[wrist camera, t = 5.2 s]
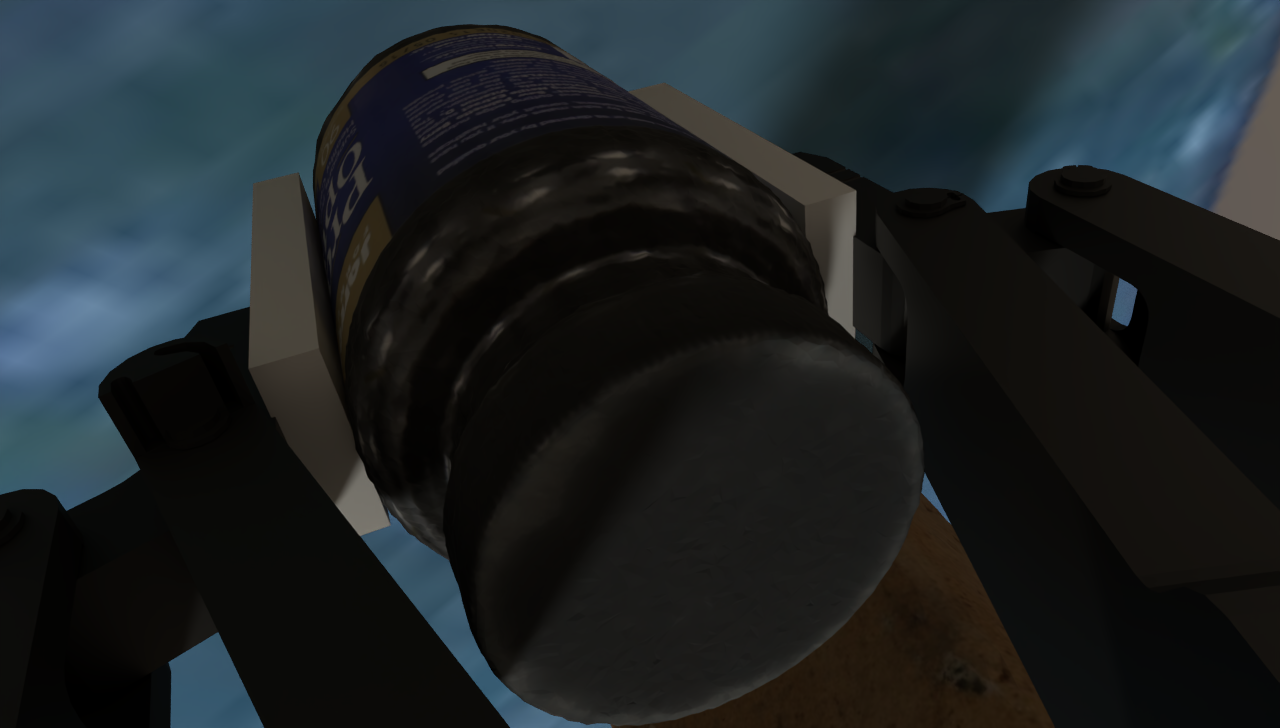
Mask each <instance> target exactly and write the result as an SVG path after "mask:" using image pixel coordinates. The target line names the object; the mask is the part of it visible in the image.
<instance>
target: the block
mask: <svg viewBox="0 0 1280 728" xmlns="http://www.w3.org/2000/svg"><path fill="white" fill-rule="evenodd" d="M611 726H612V728H1055V726H1054V724H1053V722H1052V721H1051V719H1050V717H1049V715H1048V713H1047V711H1046V709H1045V707H1044V705H1043V703H1042V701H1041V699H1040V697H1039V695H1038V693H1037V691H1036V689H1035V687H1034V685H1033V683H1032V681H1031V679H1030V677H1029V675H1028V674H1027V672H1026V670H1025V668H1024V666H1023V664H1022V662H1021V660H1020V658H1019V656H1018V654H1017V652H1016V650H1015V648H1014V646H1013V644H1012V642H1011V640H1010V638H1009V636H1008V634H1007V632H1006V630H1005V628H1004V626H1003V625H1002V623H1001V621H1000V619H999V617H998V615H997V613H996V611H995V609H994V607H993V605H992V603H991V601H990V599H989V597H988V595H987V593H986V591H985V589H984V587H983V585H982V583H981V581H980V579H979V577H978V576H977V574H976V572H975V570H974V568H973V566H972V564H971V562H970V560H969V558H968V556H967V554H966V552H965V550H964V548H963V546H962V544H961V542H960V540H959V538H958V536H957V534H956V532H955V530H954V529H953V527H952V525H951V524H950V523H949V522H948V521H947V520H946V519H945V518H944V517H943V516H942V515H941V513H940V512H939V511H938V510H937V509H936V508H935V507H934V506H933V505H932V504H931V502H930V501H929V500H928V499H927V498H926V497H925V496H924V495H923V494H922V493H921V495H920V504H919V506H918V508H917V510H916V512H915V514H914V516H913V519H912V522H911V525H910V528H909V531H908V534H907V537H906V539H905V541H904V543H903V545H902V547H901V549H900V551H899V553H898V555H897V557H896V558H895V560H894V561H893V563H892V566H891V567H890V569H889V570H888V571H887V573H886V574H885V575H884V577H883V578H882V580H881V581H880V582H879V584H878V585H877V587H876V589H875V590H874V592H873V593H872V594H871V595H870V596H869V597H868V599H867V600H866V601H865V602H864V603H863V604H862V605H861V607H860V608H859V609H858V610H857V611H856V612H855V613H854V614H853V616H852V617H851V618H850V619H849V621H848V622H847V623H845V624H844V625H843V626H842V627H841V628H840V629H839V630H838V631H837V632H836V633H835V634H834V635H833V636H832V637H830V638H829V639H828V640H827V641H826V642H824V643H823V644H822V645H821V646H820V647H818V648H817V649H816V650H814V651H813V652H812V653H811V654H809V655H808V656H807V657H805V658H804V659H803V660H802V661H800V662H799V663H798V664H796V665H795V666H793V667H792V668H790V669H788V670H787V671H785V672H784V673H783V674H781V675H780V676H778V677H777V678H775V679H773V680H771V681H769V682H767V683H765V684H764V685H762V686H760V687H758V688H757V689H755V690H753V691H751V692H748V693H746V694H744V695H743V696H741V697H740V698H737V699H734V700H731V701H729V702H727V703H725V704H723V705H721V706H718V707H716V708H714V709H707V710H705V711H702V712H700V713H696V714H691V715H688V716H685V717H682V718H679V719H676V720H668V721H664V722H660V723H651V724H644V725H639V726H636V725H622V726H615V725H612V724H611Z"/></svg>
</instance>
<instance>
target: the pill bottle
mask: <svg viewBox="0 0 1280 728" xmlns="http://www.w3.org/2000/svg"><path fill="white" fill-rule="evenodd" d="M313 192H314V201H315V211H316V221H317V226H318V230H319V236H320V242H321V247H322V254H323V261H324V268H325V274H326V278H327V285H328V290H329V296H330V302H331V309H332V316H333V322H334V327H335V333H336V339H337V345H338V351H339V356H340V363H341V370H342V374H343V379H344V386H345V391H346V404H347V407H348V414H349V420H350V423H351V426H352V431H353V436H354V441H355V448H356V451H357V453H358V455H359V457H360V458H361V460H362V462H363V464H364V467H365V471H366V475H367V477H368V479H369V480H370V481H371V482H372V483H373V484H374V487H375V489H376V491H377V493H378V495H379V497H380V499H381V502H382V504H383V505H385V506H386V507H387V508H388V510H389V512H390V513H391V515H392V516H394V517H395V518H397V520H398V521H399V522H400V523H401V524H402V526H403V527H404V528H405V529H406V531H407V532H408V533H409V534H411V535H413V536H415V537H416V538H417V539H418V540H419V541H420V542H421V543H423V544H425V545H426V546H428V547H429V548H431V549H432V550H434V551H435V552H436V553H438V554H440V555H441V556H443V557H444V558H446V559H448V560H449V561H450V564H451V567H452V570H453V573H454V576H455V578H456V581H457V583H458V586H459V589H460V593H461V597H462V602H463V605H464V609H465V612H466V616H467V619H468V623H469V626H470V629H471V632H472V634H473V636H474V639H475V641H476V643H477V645H478V648H479V649H480V651H481V653H482V655H483V656H484V657H485V659H486V661H487V663H488V665H489V667H490V668H491V670H492V672H493V673H494V675H495V676H496V677H497V678H498V679H499V680H500V681H501V682H502V683H503V684H504V685H505V686H506V687H507V688H509V689H510V690H511V691H512V692H513V693H515V694H516V695H517V696H519V697H520V698H521V699H522V700H523V701H524V702H526V703H528V704H530V705H532V706H534V707H536V708H538V709H540V710H542V711H545V712H547V713H549V714H551V715H554V716H559V717H563V718H565V719H566V720H568V721H573V722H580V723H583V724H586V725H589V724H595V723H608V724H612V725H615V726H622V725H636V726H639V725H644V724H651V723H660V722H664V721H668V720H676V719H679V718H682V717H685V716H688V715H691V714H696V713H700V712H702V711H705V710H707V709H714V708H716V707H718V706H721V705H723V704H725V703H727V702H729V701H731V700H734V699H737V698H740V697H741V696H743V695H744V694H746V693H748V692H751V691H753V690H755V689H757V688H758V687H760V686H762V685H764V684H765V683H767V682H769V681H771V680H773V679H775V678H777V677H778V676H780V675H781V674H783V673H784V672H785V671H787V670H788V669H790V668H792V667H793V666H795V665H796V664H798V663H799V662H800V661H802V660H803V659H804V658H805V657H807V656H808V655H809V654H811V653H812V652H813V651H814V650H816V649H817V648H818V647H820V646H821V645H822V644H823V643H824V642H826V641H827V640H828V639H829V638H830V637H832V636H833V635H834V634H835V633H836V632H837V631H838V630H839V629H840V628H841V627H842V626H843V625H844V624H845V623H847V622H848V621H849V619H850V618H851V617H852V616H853V614H854V613H855V612H856V611H857V610H858V609H859V608H860V607H861V605H862V604H863V603H864V602H865V601H866V600H867V599H868V597H869V596H870V595H871V594H872V593H873V592H874V590H875V589H876V587H877V585H878V584H879V582H880V581H881V580H882V578H883V577H884V575H885V574H886V573H887V571H888V570H889V569H890V567H891V566H892V563H893V561H894V560H895V558H896V557H897V555H898V553H899V551H900V549H901V547H902V545H903V543H904V541H905V539H906V537H907V534H908V531H909V528H910V525H911V522H912V519H913V516H914V514H915V512H916V510H917V508H918V506H919V504H920V495H921V491H922V483H923V478H924V474H925V473H924V468H925V463H924V448H923V442H924V441H923V437H922V433H921V429H920V424H919V420H918V417H917V414H916V412H915V409H914V406H913V404H912V402H911V400H910V398H909V395H908V394H907V392H906V391H905V390H904V388H903V386H902V385H901V383H900V381H899V380H898V379H897V378H896V377H895V376H894V375H893V374H892V372H891V371H890V370H889V369H888V368H887V367H886V366H885V365H884V364H883V363H882V362H881V361H880V360H879V359H878V358H877V357H875V356H874V355H873V354H872V353H871V352H870V351H869V350H868V349H867V348H866V347H865V346H864V345H862V344H861V343H859V342H858V341H857V340H856V339H855V338H854V337H853V336H852V335H851V334H850V333H849V332H848V331H847V330H846V329H845V328H844V327H843V326H842V325H841V324H839V323H838V322H837V321H835V320H834V319H833V318H831V317H830V316H829V314H828V305H827V300H826V297H825V290H824V286H825V284H824V281H823V279H822V276H821V274H820V269H819V264H818V262H817V260H816V259H815V257H814V255H813V251H812V248H811V244H810V242H809V241H808V240H807V238H806V236H805V234H804V233H803V231H802V230H801V228H800V227H799V226H798V224H797V223H796V221H795V220H794V218H793V216H792V214H791V213H790V211H789V210H788V209H787V208H786V207H785V205H784V204H783V203H782V201H781V200H780V198H778V197H777V196H776V195H775V194H774V193H773V192H772V190H771V189H770V188H769V187H767V186H765V185H764V184H763V183H761V182H760V181H759V180H758V179H757V178H756V177H755V176H754V175H753V174H752V172H751V171H750V170H748V169H747V168H745V167H744V166H742V165H740V164H739V163H737V162H736V161H734V160H732V159H730V158H728V157H726V156H724V155H723V154H721V153H720V152H718V151H716V150H715V149H713V148H712V147H710V146H709V145H708V144H706V143H705V142H703V141H701V140H700V139H698V138H697V137H695V136H694V135H692V134H691V133H689V132H688V131H687V130H685V129H683V128H682V127H680V126H679V125H677V124H676V123H674V122H673V121H671V120H670V119H668V118H667V117H665V116H664V115H662V114H660V113H659V112H657V111H656V110H655V109H653V108H652V107H650V106H649V105H648V104H646V103H644V102H643V101H641V100H640V99H638V98H637V97H635V96H634V95H632V94H630V93H629V92H628V91H626V90H625V89H623V88H621V87H620V86H618V85H617V84H616V83H614V82H613V81H612V80H610V79H608V78H607V77H605V76H603V75H602V74H600V73H599V72H597V71H595V70H594V69H592V68H591V67H589V66H588V65H586V64H585V63H583V62H582V61H580V60H578V59H577V58H575V57H574V56H572V55H571V54H569V53H567V52H566V51H564V50H563V49H561V48H559V47H558V46H556V45H555V44H553V43H552V42H550V41H549V40H547V39H545V38H543V37H541V36H538V35H534V34H531V33H528V32H525V31H522V30H519V29H516V28H512V27H508V26H500V25H473V24H467V25H455V26H445V27H439V28H435V29H431V30H428V31H425V32H423V33H420V34H417V35H414V36H411V37H409V38H406V39H404V40H402V41H400V42H398V43H396V44H395V45H393V46H391V47H390V48H388V49H386V50H385V51H383V52H381V53H379V54H377V55H376V56H375V57H374V58H373V59H372V60H371V61H370V62H369V63H368V64H367V65H366V66H365V67H364V68H363V69H362V70H361V72H360V73H359V74H358V75H357V76H356V78H355V79H354V80H353V81H352V82H351V83H350V85H349V86H348V88H347V89H346V91H345V92H344V94H343V95H342V97H341V98H340V100H339V101H338V103H337V104H336V105H335V107H334V108H333V110H332V111H331V112H330V114H329V115H328V117H327V118H326V120H325V122H324V124H323V126H322V129H321V131H320V134H319V136H318V139H317V144H316V155H315V164H314V169H313Z"/></svg>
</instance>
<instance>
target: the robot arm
mask: <svg viewBox="0 0 1280 728" xmlns="http://www.w3.org/2000/svg"><path fill="white" fill-rule="evenodd" d="M629 93H630V94H632V95H634V96H635V97H637V98H638V99H640V100H641V101H643V102H644V103H646V104H648V105H649V106H650V107H652V108H653V109H655V110H656V111H657V112H659V113H660V114H662V115H664V116H665V117H667V118H668V119H670V120H671V121H673V122H674V123H676V124H677V125H679V126H680V127H682V128H683V129H685V130H687V131H688V132H689V133H691V134H692V135H694V136H695V137H697V138H698V139H700V140H701V141H703V142H705V143H706V144H708V145H709V146H710V147H712V148H713V149H715V150H716V151H718V152H720V153H721V154H723V155H724V156H726V157H728V158H730V159H732V160H734V161H736V162H737V163H739V164H740V165H742V166H744V167H745V168H747V169H748V170H750V171H751V172H752V174H753V175H754V176H755V177H756V178H757V179H758V180H759V181H760V182H761V183H763V184H764V185H765V186H767V187H769V188H770V189H771V190H772V192H773V193H774V194H775V195H776V196H777V197H778V198H780V200H781V201H782V203H783V204H784V205H785V207H786V208H787V209H788V210H789V211H790V213H791V214H792V216H793V218H794V220H795V221H796V223H797V224H798V226H799V227H800V228H801V230H802V231H803V233H804V234H805V236H806V238H807V240H808V241H809V242H810V244H811V248H812V251H813V255H814V257H815V259H816V260H817V262H818V264H819V269H820V274H821V276H822V279H823V281H824V284H825V286H824V290H825V297H826V300H827V305H828V314H829V316H830V317H831V318H833V319H834V320H835V321H837V322H838V323H839V324H841V325H842V326H843V327H844V328H845V329H846V330H847V331H848V332H849V333H850V334H851V335H852V336H853V337H854V338H855V328H856V329H857V330H858V331H860V332H861V333H862V334H863V335H865V336H866V337H867V338H868V339H870V340H871V341H872V342H873V353H872V354H873V355H874V356H875V357H877V358H878V359H879V360H880V361H881V362H882V363H883V364H884V365H885V366H886V367H887V368H888V369H889V370H890V371H891V372H892V374H893V375H894V376H895V377H896V378H897V379H898V380H899V381H900V383H901V385H902V386H903V388H904V390H905V391H906V392H907V394H908V395H909V398H910V400H911V402H912V404H913V406H914V409H915V412H916V414H917V417H918V420H919V424H920V429H921V433H922V437H923V441H924V442H923V448H924V463H925V468H924V472H925V474H926V476H927V478H928V480H929V481H930V483H931V485H932V487H933V489H934V491H935V493H936V495H937V497H938V499H939V501H940V503H941V505H942V507H943V509H944V511H945V513H946V515H947V517H948V519H949V521H950V523H951V525H952V527H953V529H954V530H955V532H956V534H957V536H958V538H959V540H960V542H961V544H962V546H963V548H964V550H965V552H966V554H967V556H968V558H969V560H970V562H971V564H972V566H973V568H974V570H975V572H976V574H977V576H978V577H979V579H980V581H981V583H982V585H983V587H984V589H985V591H986V593H987V595H988V597H989V599H990V601H991V603H992V605H993V607H994V609H995V611H996V613H997V615H998V617H999V619H1000V621H1001V623H1002V625H1003V626H1004V628H1005V630H1006V632H1007V634H1008V636H1009V638H1010V640H1011V642H1012V644H1013V646H1014V648H1015V650H1016V652H1017V654H1018V656H1019V658H1020V660H1021V662H1022V664H1023V666H1024V668H1025V670H1026V672H1027V674H1028V675H1029V677H1030V679H1031V681H1032V683H1033V685H1034V687H1035V689H1036V691H1037V693H1038V695H1039V697H1040V699H1041V701H1042V703H1043V705H1044V707H1045V709H1046V711H1047V713H1048V715H1049V717H1050V719H1051V721H1052V722H1053V724H1054V726H1055V728H1280V240H1277V239H1275V238H1272V237H1270V236H1268V235H1265V234H1263V233H1260V232H1258V231H1255V230H1253V229H1251V228H1248V227H1246V226H1244V225H1242V224H1239V223H1237V222H1234V221H1232V220H1229V219H1227V218H1225V217H1223V216H1220V215H1218V214H1215V213H1213V212H1211V211H1208V210H1206V209H1204V208H1201V207H1199V206H1197V205H1194V204H1192V203H1189V202H1187V201H1185V200H1182V199H1180V198H1178V197H1175V196H1173V195H1170V194H1168V193H1166V192H1163V191H1161V190H1159V189H1156V188H1154V187H1151V186H1149V185H1147V184H1144V183H1142V182H1140V181H1137V180H1135V179H1132V178H1130V177H1128V176H1125V175H1123V174H1119V173H1116V172H1113V171H1109V170H1104V169H1097V168H1093V167H1092V166H1088V165H1078V167H1076V165H1073V166H1064V167H1063V168H1061V169H1055V170H1049V171H1046V172H1044V173H1041V174H1039V175H1036V176H1035V177H1034V178H1033V179H1032V180H1031V181H1030V182H1029V187H1028V195H1027V203H1026V208H1022V209H1015V210H1007V211H999V212H991V213H986V212H985V211H984V210H983V209H982V208H981V207H980V206H979V205H978V204H977V203H976V202H975V201H974V200H973V199H971V198H969V197H968V196H966V195H964V194H963V193H960V192H958V191H952V190H948V189H938V188H917V189H908V190H904V191H899V192H895V193H893V192H891V191H889V190H887V189H885V188H883V187H881V186H880V185H878V184H876V183H874V182H872V181H870V180H868V179H866V178H865V177H862V178H861V177H860V175H859V174H857V173H855V172H853V171H851V170H850V169H847V170H846V169H845V167H844V166H842V165H840V164H838V163H836V162H835V161H833V160H831V159H829V158H827V157H822V156H818V155H813V154H808V153H803V152H798V153H794V154H790V153H789V152H787V151H785V150H783V149H782V148H780V147H778V146H776V145H774V144H773V143H771V142H769V141H767V140H766V139H764V138H762V137H760V136H758V135H757V134H755V133H753V132H751V131H750V130H748V129H746V128H744V127H742V126H741V125H739V124H737V123H735V122H734V121H732V120H730V119H728V118H726V117H725V116H723V115H721V114H719V113H718V112H716V111H714V110H712V109H710V108H709V107H707V106H705V105H703V104H702V103H700V102H698V101H696V100H694V99H693V98H691V97H689V96H687V95H686V94H684V93H682V92H680V91H678V90H677V89H675V88H673V87H671V86H670V85H668V84H666V83H662V84H657V85H653V86H649V87H645V88H641V89H637V90H633V91H629ZM1119 278H1121V279H1123V280H1124V281H1126V282H1128V283H1130V284H1132V285H1133V286H1134V287H1135V288H1136V289H1138V290H1137V295H1136V299H1135V304H1134V308H1133V313H1132V318H1131V320H1130V323H1129V325H1128V326H1125V325H1122V324H1120V323H1119V322H1117V321H1115V320H1114V319H1112V313H1113V308H1114V303H1115V298H1116V293H1117V288H1118V283H1119ZM98 398H99V399H100V401H101V403H102V404H103V406H104V408H105V409H106V411H107V413H108V414H109V416H110V418H111V419H112V421H113V423H114V424H115V426H116V428H117V429H118V431H119V433H120V434H121V436H122V438H123V439H124V441H125V443H126V444H127V446H128V448H129V449H130V451H131V453H132V454H133V456H134V458H135V460H136V462H137V464H138V466H139V468H140V470H139V471H138V472H136V473H135V474H134V475H132V476H131V477H129V478H128V479H127V480H125V481H124V482H122V483H120V484H118V485H117V486H115V487H113V488H111V489H110V490H108V491H106V492H104V493H102V494H100V495H98V496H96V497H94V498H92V499H90V500H88V501H86V502H84V503H82V504H80V505H78V506H76V507H74V508H72V509H70V510H67V511H66V510H65V509H64V507H63V506H62V504H61V503H60V501H59V500H58V499H57V497H56V496H55V495H53V494H51V493H49V492H47V491H45V490H43V489H22V490H18V491H14V492H9V493H5V494H1V495H0V728H170V717H171V670H170V666H169V663H168V662H169V661H171V660H172V659H174V658H176V657H177V656H179V655H181V654H182V653H184V652H186V651H187V650H189V649H191V648H192V647H194V646H196V645H197V644H199V643H201V642H202V641H204V640H205V639H207V638H209V637H210V636H212V635H214V634H215V633H217V632H219V634H220V636H221V639H222V641H223V643H224V645H225V647H226V649H227V651H228V653H229V655H230V657H231V659H232V661H233V664H234V666H235V668H236V670H237V672H238V674H239V676H240V678H241V680H242V682H243V684H244V686H245V689H246V691H247V693H248V695H249V697H250V699H251V701H252V703H253V705H254V707H255V709H256V711H257V714H258V716H259V718H260V720H261V722H262V724H263V726H264V728H510V727H509V726H508V724H507V723H506V722H505V720H504V719H503V718H502V717H501V715H500V714H499V713H498V711H497V710H496V709H495V708H494V706H493V705H492V704H491V703H490V701H489V700H488V699H487V697H486V696H485V695H484V694H483V692H482V691H481V690H480V689H479V687H478V686H477V685H476V683H475V682H474V681H473V680H472V678H471V677H470V676H469V675H468V673H467V672H466V671H465V669H464V668H463V667H462V666H461V664H460V663H459V662H458V660H457V659H456V658H455V657H454V655H453V654H452V653H451V652H450V650H449V649H448V648H447V646H446V645H445V644H444V643H443V641H442V640H441V639H440V638H439V636H438V635H437V634H436V632H435V631H434V630H433V629H432V627H431V626H430V625H429V624H428V622H427V621H426V620H425V618H424V617H423V616H422V615H421V613H420V612H419V611H418V610H417V608H416V607H415V606H414V604H413V603H412V602H411V601H410V599H409V598H408V597H407V595H406V594H405V593H404V592H403V590H402V589H401V588H400V587H399V585H398V584H397V583H396V581H395V580H394V579H393V578H392V576H391V575H390V574H389V573H388V571H387V570H386V569H385V567H384V566H383V565H382V564H381V562H380V561H379V560H378V559H377V557H376V556H375V555H374V553H373V552H372V551H371V550H370V548H369V547H368V546H367V544H366V543H365V542H364V541H363V539H362V538H361V537H360V536H361V535H364V534H367V533H370V532H373V531H376V530H379V529H381V528H384V527H387V526H390V520H389V514H388V509H387V507H386V506H385V505H383V504H382V502H381V499H380V497H379V495H378V493H377V491H376V489H375V487H374V484H373V483H372V482H371V481H370V480H369V479H368V477H367V475H366V471H365V467H364V464H363V462H362V460H361V458H360V457H359V455H358V453H357V451H356V448H355V441H354V436H353V431H352V426H351V423H350V420H349V414H348V407H347V404H346V391H345V386H344V379H343V374H342V370H341V363H340V356H339V351H338V345H337V339H336V333H335V327H334V322H333V316H332V309H331V302H330V296H329V290H328V285H327V278H326V274H325V268H324V261H323V254H322V247H321V242H320V236H319V230H318V226H317V221H316V219H315V216H314V213H313V210H312V208H311V205H310V202H309V200H308V197H307V194H306V192H305V189H304V186H303V183H302V181H301V178H300V175H299V173H294V174H290V175H286V176H282V177H278V178H274V179H270V180H266V181H262V182H258V183H253V214H252V252H251V291H250V307H247V308H243V309H240V310H236V311H233V312H229V313H225V314H222V315H218V316H215V317H211V318H207V319H204V320H200V321H198V322H197V324H196V325H195V326H194V327H193V328H192V329H191V331H190V332H189V333H188V334H187V335H186V336H185V337H184V338H180V339H175V340H172V341H168V342H165V343H162V344H159V345H156V346H153V347H150V348H148V349H146V350H144V351H142V352H140V353H138V354H136V355H134V356H132V357H130V358H128V359H127V360H125V361H124V362H123V363H121V364H120V365H119V366H117V367H116V368H114V369H113V370H112V371H110V372H109V373H108V375H107V376H106V377H105V379H104V380H103V381H102V382H101V384H100V385H99V394H98Z"/></svg>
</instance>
